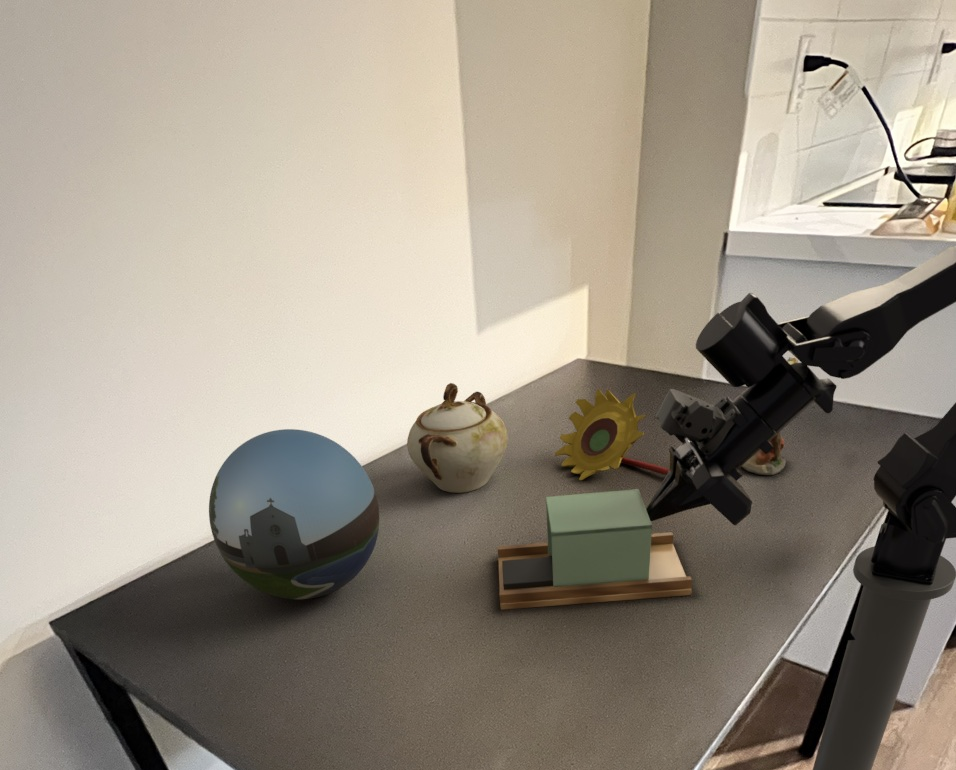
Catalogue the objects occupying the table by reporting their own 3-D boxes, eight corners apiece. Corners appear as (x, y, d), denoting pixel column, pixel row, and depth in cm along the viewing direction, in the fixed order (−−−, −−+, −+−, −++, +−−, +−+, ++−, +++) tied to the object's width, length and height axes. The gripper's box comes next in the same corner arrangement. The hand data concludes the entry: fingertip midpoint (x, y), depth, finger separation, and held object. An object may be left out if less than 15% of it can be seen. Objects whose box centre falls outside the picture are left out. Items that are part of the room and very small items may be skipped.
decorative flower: (702, 523, 98) (535, 465, 116) (730, 523, 104) (568, 467, 122) (737, 419, 93) (557, 374, 111) (765, 425, 99) (590, 381, 117)
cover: (635, 547, 93) (638, 488, 88) (648, 585, 86) (652, 524, 81) (548, 554, 94) (545, 496, 89) (553, 593, 87) (551, 533, 82)
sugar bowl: (478, 516, 105) (467, 411, 96) (388, 504, 111) (369, 403, 102) (530, 459, 119) (525, 362, 109) (447, 451, 124) (436, 358, 115)
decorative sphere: (353, 640, 85) (312, 476, 72) (208, 624, 90) (146, 469, 78) (414, 553, 99) (388, 403, 86) (285, 543, 104) (243, 401, 92)
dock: (670, 545, 94) (672, 531, 93) (691, 595, 85) (692, 580, 84) (498, 559, 96) (497, 545, 94) (500, 609, 87) (499, 595, 86)
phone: (578, 559, 92) (578, 554, 92) (583, 583, 88) (583, 577, 87) (502, 565, 93) (502, 560, 92) (503, 589, 89) (503, 584, 88)
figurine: (749, 452, 113) (764, 349, 103) (800, 461, 109) (821, 355, 100) (726, 476, 108) (740, 370, 98) (779, 486, 104) (798, 376, 94)
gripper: (689, 337, 82) (588, 442, 90) (734, 395, 67) (609, 514, 75) (751, 402, 86) (650, 497, 94) (806, 469, 72) (681, 575, 80)
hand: (646, 517), depth 86 cm, fingers closed, pressing on cover
